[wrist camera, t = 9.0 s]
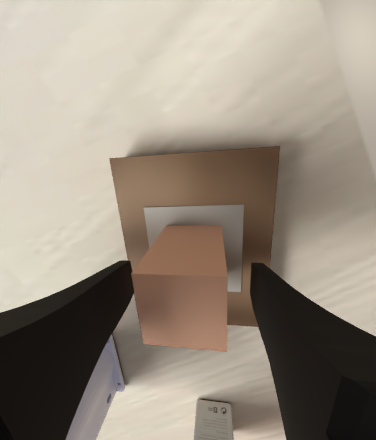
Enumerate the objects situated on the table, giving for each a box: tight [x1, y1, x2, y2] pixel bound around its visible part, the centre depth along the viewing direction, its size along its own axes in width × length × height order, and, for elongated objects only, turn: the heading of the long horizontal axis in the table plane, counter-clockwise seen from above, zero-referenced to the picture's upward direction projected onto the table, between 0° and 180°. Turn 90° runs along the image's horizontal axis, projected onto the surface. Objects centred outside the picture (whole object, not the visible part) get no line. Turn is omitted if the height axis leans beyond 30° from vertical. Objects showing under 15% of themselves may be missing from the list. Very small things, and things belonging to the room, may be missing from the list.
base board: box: [109, 146, 280, 327], centre depth 15 cm, size 14×11×2 cm
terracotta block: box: [131, 225, 228, 352], centre depth 11 cm, size 4×4×6 cm
